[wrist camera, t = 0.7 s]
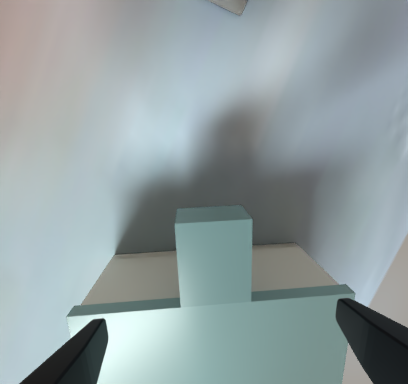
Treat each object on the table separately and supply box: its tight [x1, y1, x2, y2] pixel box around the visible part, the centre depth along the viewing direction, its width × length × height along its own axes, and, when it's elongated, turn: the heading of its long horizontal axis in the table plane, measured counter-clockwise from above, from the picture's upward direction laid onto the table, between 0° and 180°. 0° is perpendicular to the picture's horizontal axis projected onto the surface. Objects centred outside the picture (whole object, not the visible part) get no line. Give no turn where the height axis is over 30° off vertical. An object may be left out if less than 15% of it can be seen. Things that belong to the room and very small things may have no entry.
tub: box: [81, 243, 339, 305], centre depth 17 cm, size 12×16×6 cm
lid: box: [66, 205, 355, 384], centre depth 14 cm, size 17×16×2 cm
